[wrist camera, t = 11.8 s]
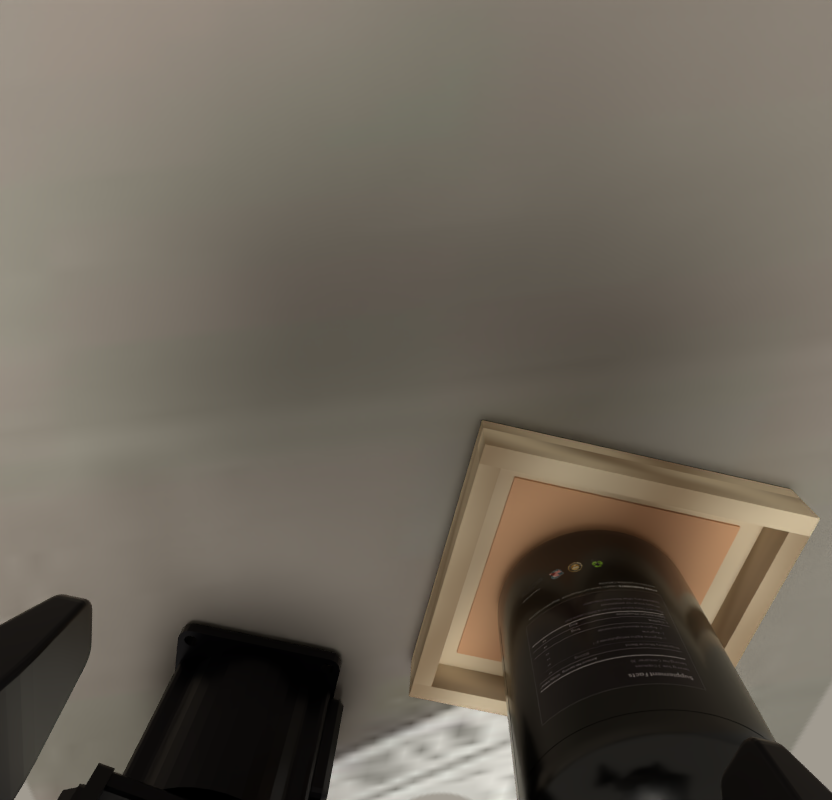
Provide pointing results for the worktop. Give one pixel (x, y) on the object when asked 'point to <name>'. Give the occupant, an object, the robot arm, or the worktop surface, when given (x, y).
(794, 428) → the worktop surface
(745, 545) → the tray
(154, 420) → the worktop surface
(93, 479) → the worktop surface
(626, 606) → the supplement bottle
